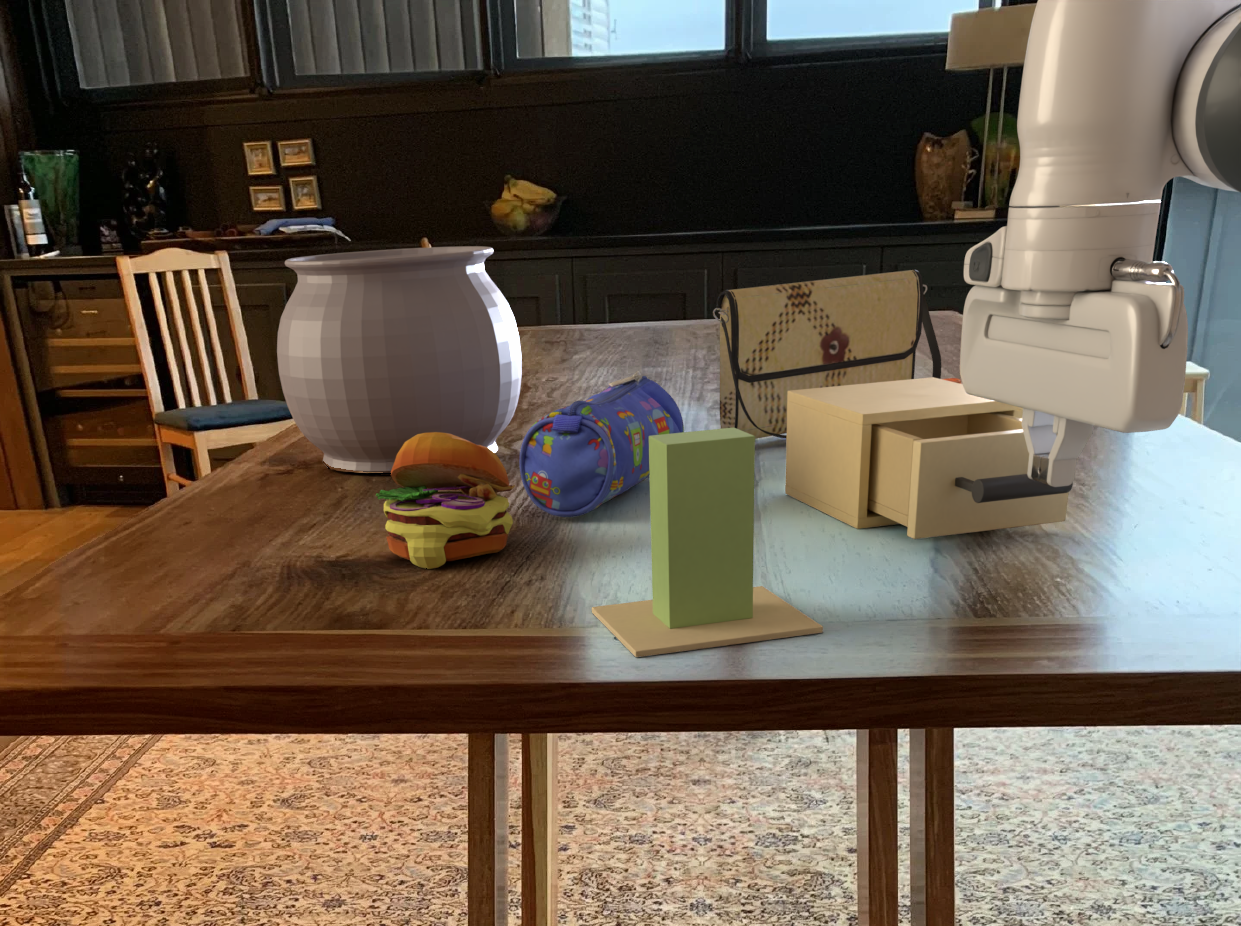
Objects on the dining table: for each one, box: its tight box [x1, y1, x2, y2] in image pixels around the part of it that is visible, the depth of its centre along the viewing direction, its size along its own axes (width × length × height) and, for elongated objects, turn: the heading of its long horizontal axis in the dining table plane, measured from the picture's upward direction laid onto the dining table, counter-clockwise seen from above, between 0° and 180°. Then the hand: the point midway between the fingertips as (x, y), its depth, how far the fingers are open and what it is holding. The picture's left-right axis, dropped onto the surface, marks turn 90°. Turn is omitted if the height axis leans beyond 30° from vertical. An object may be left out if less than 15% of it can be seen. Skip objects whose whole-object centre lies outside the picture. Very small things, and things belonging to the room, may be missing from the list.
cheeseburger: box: [375, 432, 516, 570], centre depth 101 cm, size 10×11×10 cm
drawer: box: [867, 412, 1074, 540], centre depth 99 cm, size 18×12×7 cm
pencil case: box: [518, 370, 685, 518], centre depth 116 cm, size 22×9×10 cm, turn 159°
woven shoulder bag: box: [712, 268, 942, 440], centre depth 138 cm, size 30×7×15 cm, turn 123°
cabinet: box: [784, 376, 1023, 530], centre depth 108 cm, size 15×14×9 cm
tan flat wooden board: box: [591, 585, 824, 658], centre depth 83 cm, size 12×10×1 cm
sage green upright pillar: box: [649, 427, 756, 629], centre depth 81 cm, size 6×4×11 cm, turn 105°
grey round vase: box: [276, 245, 523, 473], centre depth 135 cm, size 25×25×20 cm
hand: (1049, 482), depth 88 cm, fingers closed
